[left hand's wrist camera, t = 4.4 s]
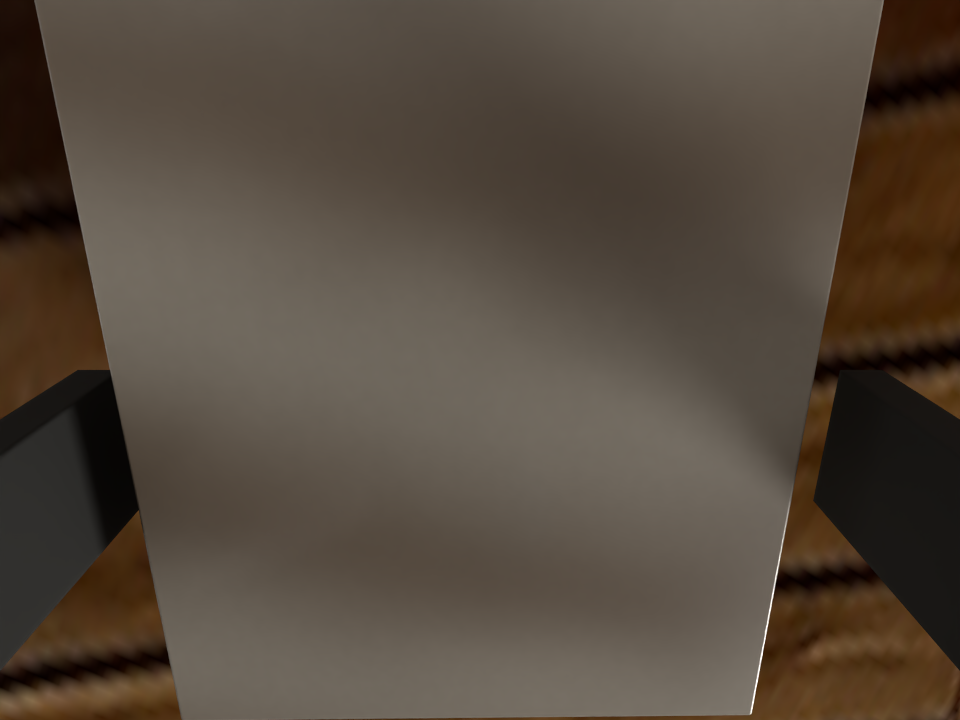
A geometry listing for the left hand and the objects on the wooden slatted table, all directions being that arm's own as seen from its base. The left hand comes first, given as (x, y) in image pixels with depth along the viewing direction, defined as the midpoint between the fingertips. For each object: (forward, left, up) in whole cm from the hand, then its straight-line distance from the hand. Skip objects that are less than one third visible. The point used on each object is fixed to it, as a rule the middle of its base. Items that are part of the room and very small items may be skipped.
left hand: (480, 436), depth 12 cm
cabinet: (+1, +5, -10) cm, 11 cm away
